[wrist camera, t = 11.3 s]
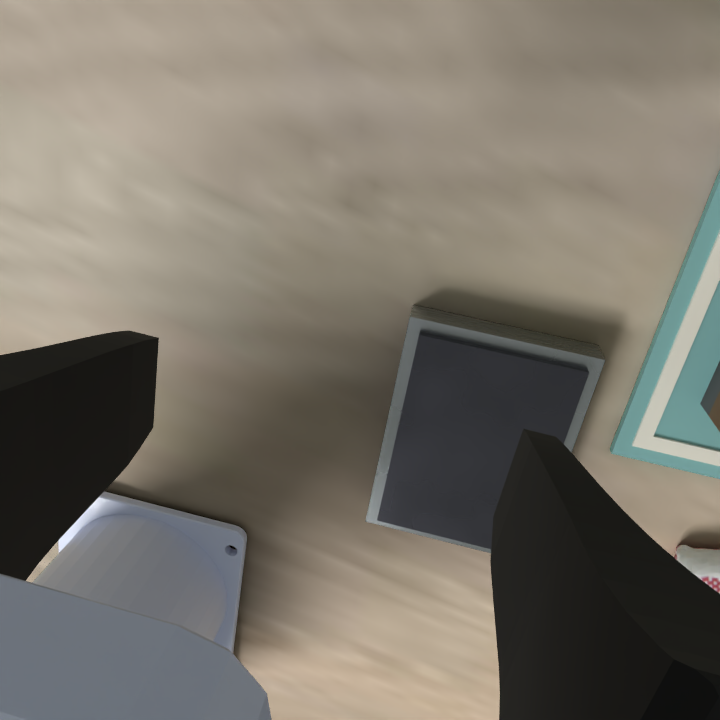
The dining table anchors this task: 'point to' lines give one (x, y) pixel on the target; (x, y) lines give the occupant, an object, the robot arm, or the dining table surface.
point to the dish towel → (701, 563)
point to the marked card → (681, 365)
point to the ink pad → (471, 419)
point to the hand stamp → (713, 398)
